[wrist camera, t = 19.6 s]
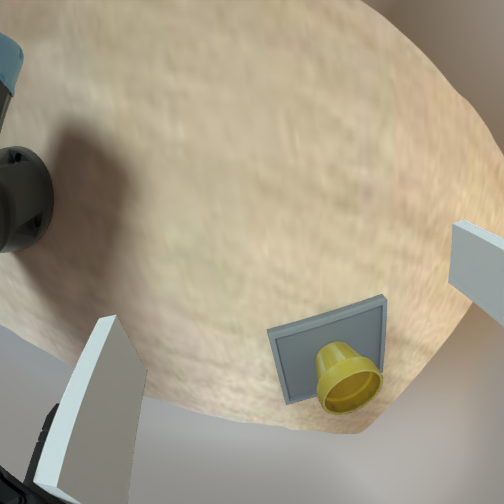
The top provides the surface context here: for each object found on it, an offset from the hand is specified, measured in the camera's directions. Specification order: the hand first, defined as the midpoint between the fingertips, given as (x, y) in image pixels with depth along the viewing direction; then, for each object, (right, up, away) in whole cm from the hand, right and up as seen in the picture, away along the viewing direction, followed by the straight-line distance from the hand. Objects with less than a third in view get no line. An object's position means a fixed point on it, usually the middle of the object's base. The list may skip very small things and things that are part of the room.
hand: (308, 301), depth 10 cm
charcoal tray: (+12, -16, +39) cm, 44 cm away
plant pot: (+12, -16, +38) cm, 43 cm away
